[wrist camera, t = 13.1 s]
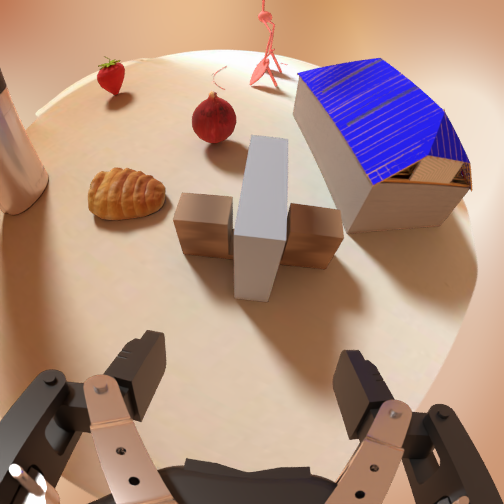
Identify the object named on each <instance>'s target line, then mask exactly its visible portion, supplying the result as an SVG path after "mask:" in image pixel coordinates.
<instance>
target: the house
mask: <svg viewBox="0 0 504 504" xmlns="http://www.w3.org/2000/svg"><path fill="white" fill-rule="evenodd" d="M297 75H299V81H298V87H297V93H296V99H295V105H294V111H293V116H294V118H295V120H296V122H297V124H298V126H299V128H300V130H301V132H302V134H303V136H304V138H305V140H306V142H307V144H308V146H309V148H310V150H311V152H312V154H313V156H314V158H315V160H316V162H317V165H318V167H319V169H320V171H321V173H322V175H323V178H324V180H325V182H326V184H327V187H328V189H329V191H330V194H331V196H332V198H333V201H334V203H335V205H336V208H337V210H340V211H341V218H342V223H343V225H344V228H345V231H346V233H347V234H348V233H360V232H372V231H384V230H396V229H408V228H421V227H434V226H440V225H441V224H442V222H443V221H444V220H445V219H446V218H447V217H448V215H449V214H450V213H451V212H452V211H453V209H454V208H455V207H456V206H457V204H458V203H459V202H460V201H461V199H462V198H463V197H464V196H465V194H466V193H467V192H468V190H469V189H470V190H471V191H472V178H471V166H470V162H469V159H468V157H467V155H466V152H465V150H464V148H463V146H462V144H461V142H460V140H459V137H458V136H457V134H456V132H455V130H454V128H453V126H452V124H451V122H450V120H449V118H448V117H447V115H446V113H445V110H443V109H442V108H440V107H439V106H438V105H437V104H436V103H435V102H434V101H433V100H432V99H431V98H430V97H429V96H428V95H426V94H425V93H424V92H423V91H422V90H421V89H420V88H419V87H417V86H416V85H415V84H414V83H413V82H411V81H410V80H409V79H407V78H406V77H405V76H404V75H403V74H401V73H400V72H399V71H398V70H396V69H395V68H394V67H392V66H391V65H390V64H388V63H387V62H385V61H384V60H382V59H381V58H376V59H368V60H361V61H354V62H348V63H342V64H336V65H331V66H326V67H322V68H317V69H313V70H308V71H304V72H300V73H297ZM461 174H462V175H461Z"/></svg>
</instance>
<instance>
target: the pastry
mask: <svg viewBox="0 0 504 504" xmlns="http://www.w3.org/2000/svg"><path fill="white" fill-rule="evenodd" d="M164 201H165V187H164V185H163V184H162V183H161V182H160V181H158V180H156V179H154V178H153V176H151V175H145V174H144V173H143V172H141V171H138V172H136V171H135V170H132V169H129V168H126V169H124V170H123V169H121V168H113V169H112V170H111V171H110V172H104V171H101V172H99V173H98V174H97V175H96V176H95V177H94V179H93V180H92V182H91V184H90V190H89V192H88V207H89V210H90V211H91V212H92V213H93V214H95V215H96V216H98V217H100V218H102V219H108V220H122V219H131V218H138V217H143V216H147V215H149V214H151V213H154V212H157V211H158V210H159V209H160V208H161V207H162V205H163V203H164Z"/></svg>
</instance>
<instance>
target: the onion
mask: <svg viewBox="0 0 504 504" xmlns="http://www.w3.org/2000/svg"><path fill="white" fill-rule="evenodd" d="M235 125H236V115H235V112H234V109H233V108H232V106H231V105H230V104H229V103H228V102H227V101H225V100H223V99H221V98H219V97H218V96H217V93H216V92H212V91H211V93H210V94H209V97H208V99H206V100H205V101H203V102H202V103H201V104H200V105H199V106H198V107H197V108H196V109H195V111H194V113H193V116H192V127H193V130H194V132H195V133H196V134H197V135H198V137H199V138H201V139H202V140H204V141H206V142H209V143H218V142H221V141H224V140H225V139H227V138H228V137H229V136H230V135H231V134H232V133H233V131H234V128H235Z"/></svg>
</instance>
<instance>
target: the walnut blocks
mask: <svg viewBox="0 0 504 504" xmlns="http://www.w3.org/2000/svg"><path fill="white" fill-rule="evenodd" d="M173 221H174V225H175V228H176V232H177V235H178V238H179V241H180V245H181V248H182V251H183V254H189V255H198V256H207V257H216V258H225V259H234V230H235V229H233V197H229V196H218V195H206V194H193V193H182V194H181V197H180V200H179V203H178V206H177V209H176V212H175V215H174V218H173ZM343 239H344V235H343V226H342V218H341V211H340V210H336V209H330V208H323V207H316V206H308V205H301V204H293V203H291V204H290V208H289V212H288V216H287V228H286V243H285V246H284V250H283V253H282V256H281V260H280V263H279V264H280V265H290V266H300V267H309V268H319V269H326V267H327V266H328V264H329V262H330V261H331V259H332V257H333V256H334V254H335V252H336V251H337V249H338V247H339V246H340V244H341V242H342V241H343Z"/></svg>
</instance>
